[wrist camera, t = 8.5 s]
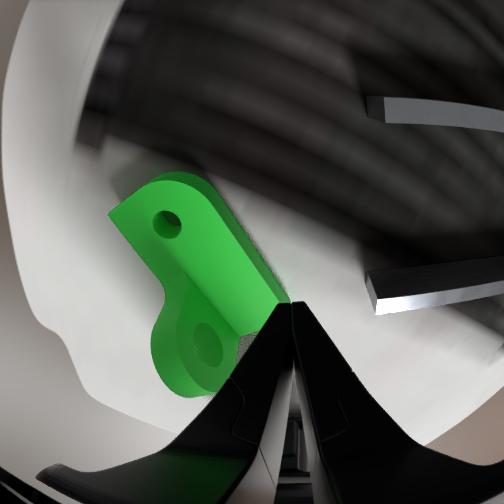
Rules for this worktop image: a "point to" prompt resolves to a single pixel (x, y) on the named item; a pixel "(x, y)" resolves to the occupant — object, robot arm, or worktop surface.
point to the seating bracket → (445, 274)
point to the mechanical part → (197, 279)
